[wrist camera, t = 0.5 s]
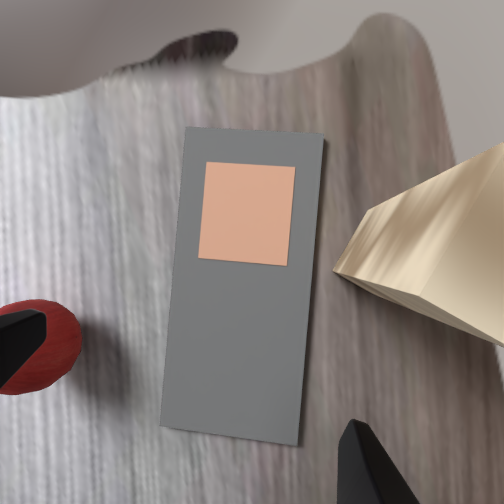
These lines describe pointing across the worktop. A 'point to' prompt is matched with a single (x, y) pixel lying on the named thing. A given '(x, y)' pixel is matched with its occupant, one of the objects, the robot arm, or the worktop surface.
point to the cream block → (439, 248)
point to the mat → (242, 283)
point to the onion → (46, 348)
